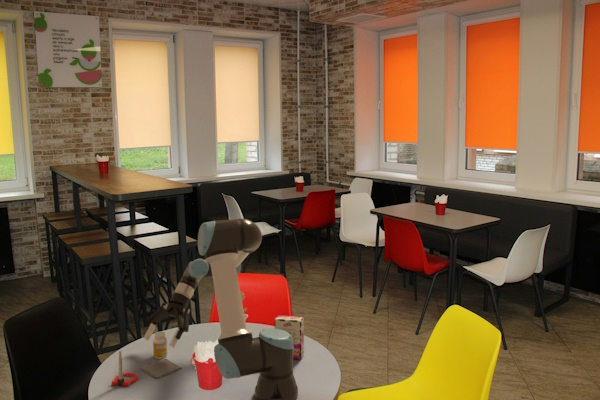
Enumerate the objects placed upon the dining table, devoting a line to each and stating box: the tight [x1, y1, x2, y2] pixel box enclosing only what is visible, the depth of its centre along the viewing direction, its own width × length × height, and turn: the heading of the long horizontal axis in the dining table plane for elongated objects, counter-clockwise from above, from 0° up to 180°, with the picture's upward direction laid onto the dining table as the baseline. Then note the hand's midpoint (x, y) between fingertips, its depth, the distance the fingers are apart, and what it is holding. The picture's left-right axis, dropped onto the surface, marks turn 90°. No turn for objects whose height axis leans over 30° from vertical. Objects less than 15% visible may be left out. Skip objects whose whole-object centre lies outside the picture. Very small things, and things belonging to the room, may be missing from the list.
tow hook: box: [111, 350, 139, 387], centre depth 201 cm, size 8×13×9 cm
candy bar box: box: [274, 314, 305, 361], centre depth 220 cm, size 11×5×16 cm, turn 76°
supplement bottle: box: [152, 331, 168, 360], centre depth 221 cm, size 5×5×10 cm
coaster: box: [140, 358, 183, 380], centre depth 210 cm, size 11×11×1 cm
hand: (158, 342), depth 220 cm, fingers open, 13 cm apart
